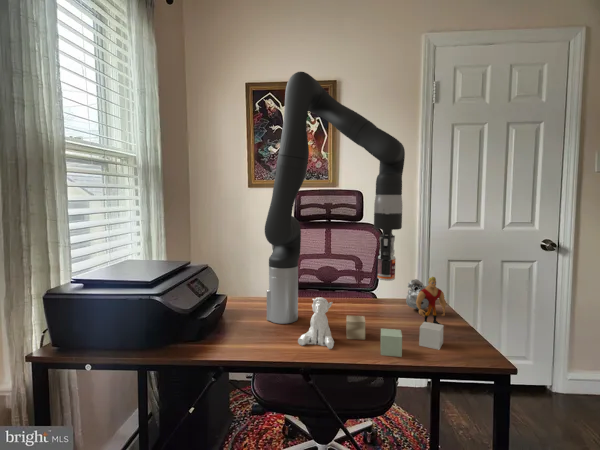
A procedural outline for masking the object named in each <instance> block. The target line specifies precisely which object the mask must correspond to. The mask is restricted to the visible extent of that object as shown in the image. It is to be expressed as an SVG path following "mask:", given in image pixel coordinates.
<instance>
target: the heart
mask: <svg viewBox="0 0 600 450" xmlns="http://www.w3.org/2000/svg"><path fill="white" fill-rule="evenodd" d="M427 286H428V285H424V283H423V282H421V281H420V280H419V279H417V278H416V279H410V281H409V282H408V283H407V288H409V289H408V290H407V295H406V296H405V297H406V300H405V303H406V304H407V307H409V308H411V309H415V310H418V311H419V309H418V307H417V305H416V300H417V296H418V294H419V292H420V291H421V290H423V289H425V288H426V287H427ZM428 304H429V302H428V300H427V299H423V301H422V303H421V309H422V310H425V309H428Z"/></svg>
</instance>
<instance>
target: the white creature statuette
mask: <svg viewBox="0 0 600 450" xmlns="http://www.w3.org/2000/svg"><path fill="white" fill-rule="evenodd" d="M311 299H312V301H313V302H312V304H311V307H312V312H313V315H312V316H311V318H310V321H309V322H310V323H309V324H310V327H309V328H308V331H307V332H306V333H303V334H301V335H300V336H299V337H298V339H297V344H298V345H300V346H303V347H304V346H306V345H311V346H312V345H318V346H324V347H326V348H327V349H328V350H332V349H333V348H334V345H335V341H334V338H333V337H332V331H331V329H330V326H329V321H328V320H329V319H328V317H327V314H326V313H327V312H328V311H329V309H330V308H331V307H332V305H333V301H330V302H328V299H326V298H324V297H320V296H318V297H315V298H311Z"/></svg>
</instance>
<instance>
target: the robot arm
mask: <svg viewBox="0 0 600 450" xmlns="http://www.w3.org/2000/svg"><path fill="white" fill-rule="evenodd" d="M284 94H285V95H284V111H283V124H282V129H281V130H282V131H281V137H280V144H279V150H278V154H277V161H276V168H275V176H274V182H273V187H272V188H273V189H272V195H271V200H270V206H269V209H268V212H267V216H266V218H265V219H266V220H265V224H264V235H265V239H266V240H267V242H268V243H269V244H270V245H272V246H273V251H272V253H271V255H270V256H269V258H268V289H267V290H266V321H270V322H271V323H274V324H285V325H286V324H292V323H295V322H297V321H298V319H299V259H300V256H301V248H302V247H301V245H302V244H301V243H302V242H301V241H302V230H301V224H300V222H299V220H298V219H297V218H296V217H295V216H293V209H294V203H295V201H296V198H297V196H298V193H299V191H300V190H301V187H302V185H303V183H304V181H305V178H306V174H307V169H308V163H309V158H310V147H309V146H310V145H309V138H308V131H307V130H308V129H307V124H308V123H307V122H308V121H307V120H308V116H309V112H310V113H312V114H314V115H316V116H319V117H321V118H322V119H324V120H326V122H328V123H330V124H331V125H332V126H333V127H334V128H336V130H338V132H339V133H341V134H342V135H343V136H345V137H346V138H348V139H349V140H351V141H352V142H353V143H355V144H356V145H358V146H359V147H361V148H362V149H364V150H365V151H367V152H368V153H369V154H370V155H372V157H374V158H375V159H377V160H378V162H379V168H378V169H379V170H378V171H379V172H378V175H377V177H376V179H375V180H376V181H375V197H374V206H373V210H374V212H373V227H374V229H376V230H381V231H382V234H380V235H379V243H380V244H379V252H381V256H380V258H381V261H382V271H381V273H382V274H383V275H389V274H390V261H391V253H393V249H394V248H395V244H394V243H395V239H396V235H394V234H393V231H394V230H395V231H396V230H397V231H398V230H401V229H402V228H403V196H402V195H403V172H404V167H405V157H406V156H405V155H406V153H405V146H404V145H403V143H402V142H401V141H399V140H398V139H397V138H396V137H395V136H393V135H391V134H389V133H388V132H386V131H384V130H382V129H381V128H379V127H378V126H377V125H375V124H374V123H373V122H372V121H371V120H369V119H367V118H366V117H364V116H363V115H361V113H358V112H357V111H355V110H353V109H351V108H350V107H347V106H346V105H344V104H342V103H340V102H339V101H338V100H336V99H335V98H333V96H332V95H330V94H329V93H328V91H326V89H325V88H323V87H322V85H321V84H320V83H319V81H318V80H316V79H315V77H313V76H311V74H309V73H307V72H305V71H297V72H295V73H293V74H292V75H291V76H290V77H289V79H288V81H287V83H286V86H285V92H284ZM394 250H395V249H394ZM384 253H388V255H384Z"/></svg>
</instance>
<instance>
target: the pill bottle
mask: <svg viewBox="0 0 600 450" xmlns="http://www.w3.org/2000/svg"><path fill="white" fill-rule="evenodd" d="M378 254H379V255H378V256H377V279H378V280H379V281H386V282H390V281H394V280H395V279H396V260H397V258H396V256H394V255H395V249H393V253H391V261H390V274H389V275H383V274H382V273H381V271H382V261H381V258H380V256H381V252H380V251H379V253H378ZM384 255H388V253H384Z"/></svg>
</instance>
